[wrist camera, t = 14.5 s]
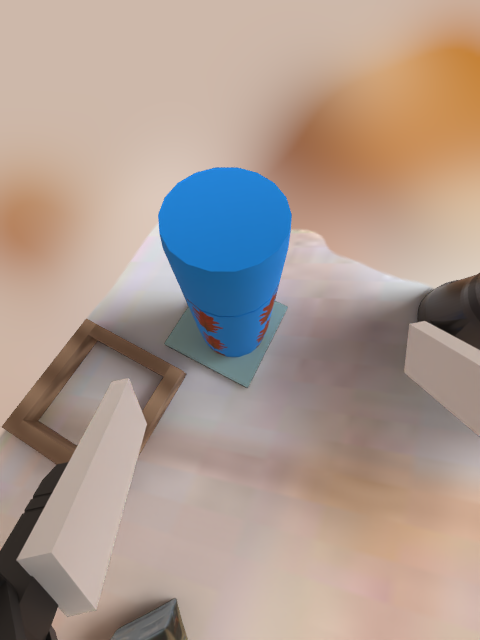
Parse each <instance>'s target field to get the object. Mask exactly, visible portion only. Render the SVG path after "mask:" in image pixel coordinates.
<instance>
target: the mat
mask: <svg viewBox="0 0 480 640" xmlns="http://www.w3.org/2000/svg"><path fill="white" fill-rule="evenodd" d="M287 308H288V307H287V306H285V305H283V304H281V303H278V302H276V301H274V305H273V309H272V313H271V317H270V321H269V325H268V329H267V331H266V334H265V336H264V338H263V340H262V341H261V343H260V345H259V346H258V347H257V348H256V349H255V350H253V351H252V352H251V353H249V354H246V355H244V356H241V357H226V356H223V355H221V354H218V353H216V352H215V351H214V350H213V349H211V348H210V347H209V346H208V344H207V343H206V341H205V340H204V338H203V336H202V334H201V332H200V331H199V329H198V327H197V324H196V322H195V320H194V317H193V315H192V313H191V311H190V308H189V306H188V308H187V309H186V311H185V312H184V314H183V315H182V317H181V319H180V320H179V322H178V323H177V325H176V326H175V328H174V329H173V331H172V332H171V334H170V336H169V337H168V339H167V340H166V342H165V343H164V344H165V345H166V346H168V347H170V348H172V349H174V350H176V351H178V352H180V353H181V354H183V355H185V356H187V357H189V358H191V359H193V360H195V361H197V362H199V363H200V364H202V365H204V366H206V367H208V368H210V369H212V370H214V371H216V372H218V373H219V374H221V375H223V376H225V377H227V378H229V379H231V380H233V381H235V382H237V383H238V384H240V385H242V386H244V387H246V388H248V387H249V385H250V383H251V381H252V379H253V377H254V375H255V373H256V371H257V369H258V367H259V364H260V362H261V360H262V358H263V356H264V354H265V352H266V350H267V348H268V346H269V344H270V342H271V340H272V338H273V336H274V334H275V332H276V330H277V328H278V326H279V324H280V322H281V320H282V318H283V316H284V314H285V312H286V310H287Z"/></svg>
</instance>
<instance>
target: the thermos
mask: <svg viewBox="0 0 480 640" xmlns="http://www.w3.org/2000/svg"><path fill="white" fill-rule="evenodd" d="M291 216H292V215H291V211H290V208H289V205H288V201H287V198H286V196H284V194H283V193H282V192H281V191H280V189H279V188H278V187H277V186H276V185H275V183H273V182H272V181H270V180H268V179H267V178H265V177H263V176H261V175H260V174H258V173H256V172H252V171H248V170H245V169H241V168H212V169H209V170H205V171H201V172H197V173H194V174H193V175H191V176H189V177H187V178H186V179H184V180H182V181H181V182H179V183H177V185H176V186H175V187H174V188H173V189H172V190H171V191H170V192H169V194H168V195H167V196H166V197H165V198H164V201H163V204H162V206H161V209H160V212H159V215H158V218H159V232H160V237H161V241H162V246H163V249H164V251H165V254H166V256H167V258H168V261H169V263H170V265H171V267H172V270H173V272H174V274H175V276H176V279H177V281H178V283H179V285H180V288H181V290H182V292H183V295H184V297H185V299H186V302H187V304H188V306H189V308H190V311H191V313H192V315H193V317H194V320H195V322H196V324H197V327H198V329H199V331H200V332H201V334H202V336H203V338H204V340H205V341H206V343H207V344H208V346H209V347H210V348H211V349H213V350H214V351H215V352H216V353H218V354H221V355H223V356H226V357H241V356H244V355H246V354H249V353H251V352H252V351H253V350H255V349H256V348H257V347H258V346H259V345H260V343H261V341H262V340H263V338H264V336H265V334H266V331H267V329H268V325H269V321H270V317H271V313H272V309H273V305H274V301H275V298H276V294H277V290H278V286H279V282H280V278H281V274H282V270H283V266H284V262H285V258H286V255H287V251H288V245H289V238H290V231H291Z"/></svg>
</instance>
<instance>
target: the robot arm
mask: <svg viewBox="0 0 480 640" xmlns="http://www.w3.org/2000/svg"><path fill="white" fill-rule="evenodd" d="M404 373H405V374H406V375H407V376H409V377H410V378H411V379H412V380H413V381H415V382H416V383H417V384H418V385H419V386H420V387H422V388H423V389H424V390H425V391H426V392H427V393H429V394H430V395H431V396H432V397H433V398H434V399H436V400H437V401H438V402H439V403H440V404H442V405H443V406H444V407H445V408H446V409H447V410H449V411H450V412H451V413H452V414H453V415H454V416H456V417H457V418H458V419H459V420H460V421H461V422H463V423H464V424H465V425H466V426H467V427H469V428H470V429H471V430H472V431H473V432H474V433H476V434H477V435H478V436H479V437H480V273H479V274H477V275H474V276H471V277H468V278H465V279H461V280H456V281H451V282H448V283H445V284H443V285H441V286H439V287H437V288H436V289H434V290H433V291H432V292H430V293H429V294H428V295H427V296H426V297H425V298H424V299H423V300H422V302H421V304H420V307H419V310H418V322H417V323H411V324H409V331H408V340H407V349H406V358H405V367H404ZM146 426H147V423H146V420H145V418H144V415H143V413H142V410H141V407H140V405H139V402H138V400H137V397H136V395H135V392H134V389H133V387H132V384H131V382H130V379H129V378H127V379H122V380H117V381H112V382H111V384H110V386H109V388H108V390H107V392H106V393H105V395H104V397H103V399H102V401H101V403H100V405H99V407H98V408H97V410H96V412H95V414H94V416H93V418H92V420H91V421H90V423H89V425H88V427H87V429H86V431H85V433H84V435H83V436H82V438H81V440H80V442H79V444H78V446H77V448H76V450H75V451H74V453H73V455H72V457H71V459H70V461H69V462H66V463H61V464H57V465H56V466H55V467H54V468H53V469H52V470H51V472H50V473H49V474H48V475H47V476H46V477H45V478H44V479H43V480H42V482H41V484H40V485H39V487H38V489H37V490H36V492H35V494H34V495H33V499H31V500H30V502H29V504H28V505H27V507H26V509H25V513H24V514H22V516H21V517H20V519H19V521H18V522H17V524H16V526H15V527H14V529H13V531H12V532H11V534H10V536H9V537H8V539H7V541H6V542H5V544H4V546H3V547H2V549H1V551H0V640H57V636H56V632H55V630H54V629H53V627H52V626H51V624H52V621H53V619H54V616H55V613H56V611H57V608H58V607H59V608H60V609H61V611H62V612H63V613H64V614H65V615H66V616H67V617H69V616H74V615H78V614H82V613H87V612H91V611H96V610H97V606H98V603H99V599H100V595H101V592H102V588H103V584H104V581H105V577H106V573H107V570H108V566H109V562H110V559H111V555H112V551H113V547H114V544H115V540H116V536H117V533H118V529H119V525H120V522H121V518H122V514H123V511H124V507H125V503H126V500H127V496H128V492H129V489H130V485H131V481H132V477H133V474H134V470H135V466H136V463H137V459H138V455H139V452H140V448H141V444H142V441H143V437H144V433H145V430H146Z"/></svg>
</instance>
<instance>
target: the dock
mask: <svg viewBox="0 0 480 640" xmlns="http://www.w3.org/2000/svg"><path fill="white" fill-rule="evenodd" d="M97 341H99V342H101V343H103V344H105V345H107V346H108V347H110V348H112V349H114V350H116V351H117V352H119V353H121V354H123V355H125V356H127V357H128V358H130V359H132V360H134V361H136V362H137V363H139V364H141V365H143V366H145V367H146V368H148V369H150V370H152V371H154V372H156V373H157V374H159V375H161V376H163V378H162V380H161V382H160V383H159V385H158V387H157V388H156V390H155V391H154V393H153V395H152V396H151V398H150V399H149V401H148V403H147V404H146V406H145V408H144V409H143V411H142V413H143V415H144V418H145V420H146V423H147V426H146V430H145V433H144V437H143V441H142V444H141V448H140V452H139V454H140V453H141V451H142V449H143V447H144V446H145V444H146V442H147V441H148V439H149V437H150V436H151V434H152V432H153V430H154V429H155V427H156V425H157V424H158V422H159V420H160V419H161V417H162V415H163V414H164V412H165V410H166V408H167V407H168V405H169V403H170V402H171V400H172V398H173V397H174V395H175V393H176V391H177V390H178V388H179V386H180V385H181V383H182V381H183V380H184V378H185V376H186V373H185V372H184V371H182V370H181V369H179V368H177V367H175V366H173V365H171V364H169V363H168V362H166V361H164V360H162V359H160V358H158V357H156V356H155V355H153V354H151V353H149V352H147V351H145V350H143V349H142V348H140V347H138V346H136V345H134V344H132V343H130V342H129V341H127V340H125V339H123V338H121V337H119V336H118V335H116V334H114V333H112V332H110V331H108V330H106V329H105V328H103V327H101V326H99V325H97V324H95V323H93V322H92V321H90V320H88V319H86V320H85V321H84V322H83V324H82V325H81V326H80V327H79V329H78V330H77V331H76V333H75V334H74V335H73V336H72V338H71V339H70V340H69V341H68V343H67V344H66V346H65V347H64V348H63V349H62V350H61V352H60V353H59V354H58V356H57V357H56V358H55V359H54V361H53V362H52V363H51V364H50V366H49V367H48V368H47V370H46V371H45V372H44V373H43V375H42V376H41V378H39V380H38V381H37V382H36V384H35V385H34V386H33V387H32V389H31V390H30V391H29V392H28V394H27V395H26V396H25V398H24V399H23V400H22V401H21V403H20V404H19V405H18V406H17V408H16V409H15V410H14V412H13V413H12V414H11V416H10V417H9V418H8V419H7V421H6V422H5V423H4V424H3V426H2V428H4V429H5V430H7V431H8V432H10V433H11V434H13V435H14V436H16V437H17V438H19V439H20V440H22V441H23V442H25V443H26V444H28V445H29V446H31V447H32V448H33V449H35V450H36V451H38V452H39V453H41V454H42V455H44V456H45V457H47V458H48V459H50V460H51V461H53V462H54V463H56V464H61V463H66V462H69V461H70V459H71V457H72V455H73V453H74V451H75V450H76V448H77V446H76V445H75V444H73V443H72V442H70V441H68V440H67V439H65V438H64V437H62V436H61V435H59V434H58V433H56V432H55V431H53V430H52V429H50V428H48V427H47V426H45V425H44V424H42V423H41V422H39V421H38V420H39V419H40V418H41V416H42V415H43V414H44V412H45V411H46V410H47V408H48V407H49V406H50V404H51V403H52V401H53V400H54V399H55V397H56V396H57V395H58V393H59V392H60V391H61V389H62V388H63V387H64V385H65V384H66V383H67V381H68V380H69V379H70V377H71V376H72V375H73V373H74V372H75V371H76V369H77V368H78V366H79V365H80V364H81V362H82V361H83V360H84V358H85V357H86V356H87V354H88V353H89V352H90V350H91V349H92V348H93V346H94V345H95V344H96V342H97ZM138 456H139V455H138Z"/></svg>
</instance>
